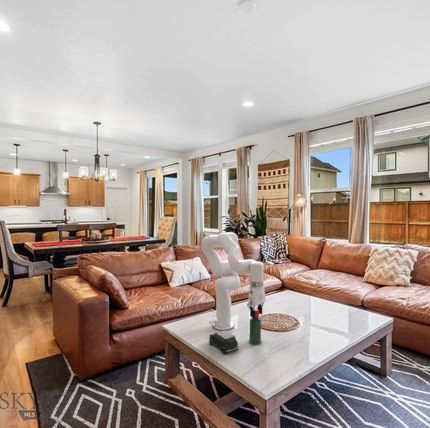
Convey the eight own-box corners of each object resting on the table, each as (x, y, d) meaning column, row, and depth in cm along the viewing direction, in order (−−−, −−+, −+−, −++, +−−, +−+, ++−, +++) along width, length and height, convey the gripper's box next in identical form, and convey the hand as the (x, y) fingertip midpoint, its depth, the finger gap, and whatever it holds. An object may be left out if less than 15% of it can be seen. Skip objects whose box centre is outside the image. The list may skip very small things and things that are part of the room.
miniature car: (220, 338, 173) (220, 324, 173) (240, 350, 159) (240, 335, 159) (207, 342, 167) (207, 328, 167) (226, 355, 153) (226, 340, 153)
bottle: (251, 345, 165) (251, 313, 164) (248, 340, 171) (248, 309, 170) (262, 343, 167) (262, 312, 166) (258, 338, 173) (258, 308, 172)
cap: (260, 317, 167) (260, 310, 167) (253, 317, 166) (253, 311, 166) (257, 314, 171) (257, 308, 171) (250, 315, 170) (250, 308, 170)
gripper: (252, 288, 158) (251, 321, 159) (270, 282, 171) (270, 312, 172) (241, 285, 163) (241, 317, 164) (260, 279, 176) (260, 309, 177)
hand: (256, 314), depth 168 cm, fingers open, 5 cm apart
